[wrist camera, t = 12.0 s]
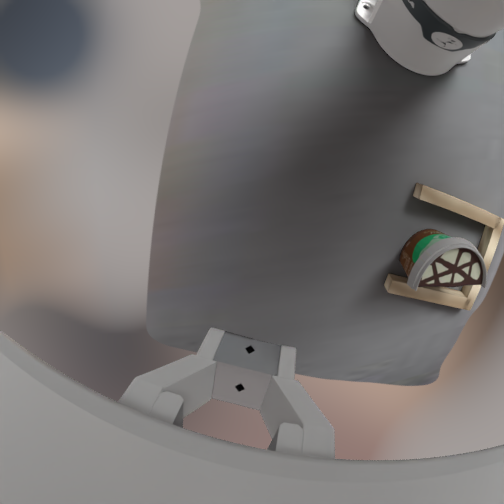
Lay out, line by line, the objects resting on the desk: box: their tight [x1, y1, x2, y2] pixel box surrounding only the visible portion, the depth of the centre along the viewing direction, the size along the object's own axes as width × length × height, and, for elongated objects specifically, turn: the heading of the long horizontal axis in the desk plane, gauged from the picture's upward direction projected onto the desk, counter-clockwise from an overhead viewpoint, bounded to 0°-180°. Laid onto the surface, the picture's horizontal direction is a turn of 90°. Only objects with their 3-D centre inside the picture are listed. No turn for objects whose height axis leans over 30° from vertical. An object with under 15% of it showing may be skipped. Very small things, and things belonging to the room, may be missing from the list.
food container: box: [399, 229, 487, 291], centre depth 32 cm, size 12×6×10 cm, turn 93°
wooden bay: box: [384, 183, 504, 310], centre depth 35 cm, size 16×17×2 cm
